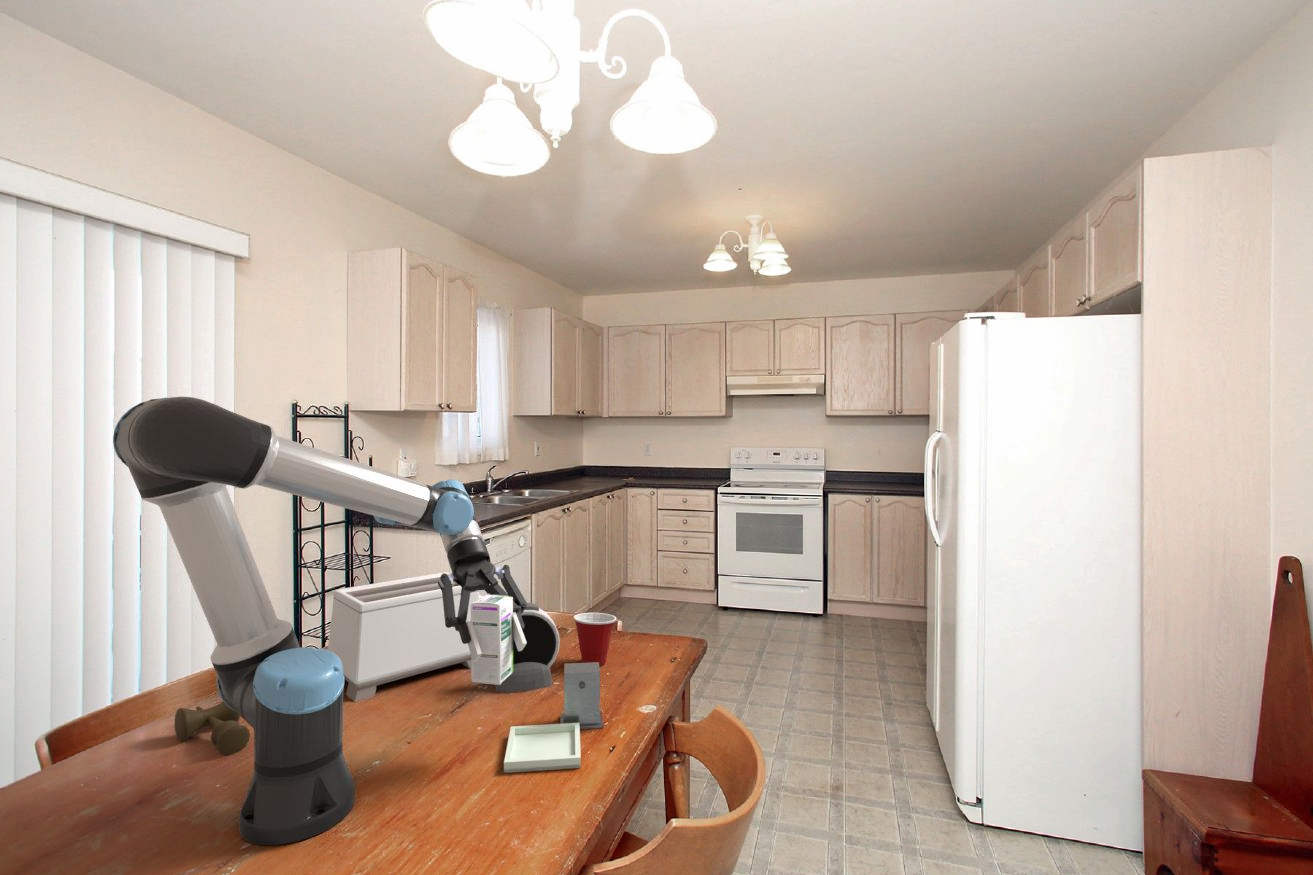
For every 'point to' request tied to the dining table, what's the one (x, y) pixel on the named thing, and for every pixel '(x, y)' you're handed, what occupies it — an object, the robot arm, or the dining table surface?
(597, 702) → the gray phone stand
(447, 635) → the toaster
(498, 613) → the syrup box
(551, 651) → the alarm clock
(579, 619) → the plastic cup
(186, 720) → the kendama
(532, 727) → the tray
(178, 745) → the dining table surface
